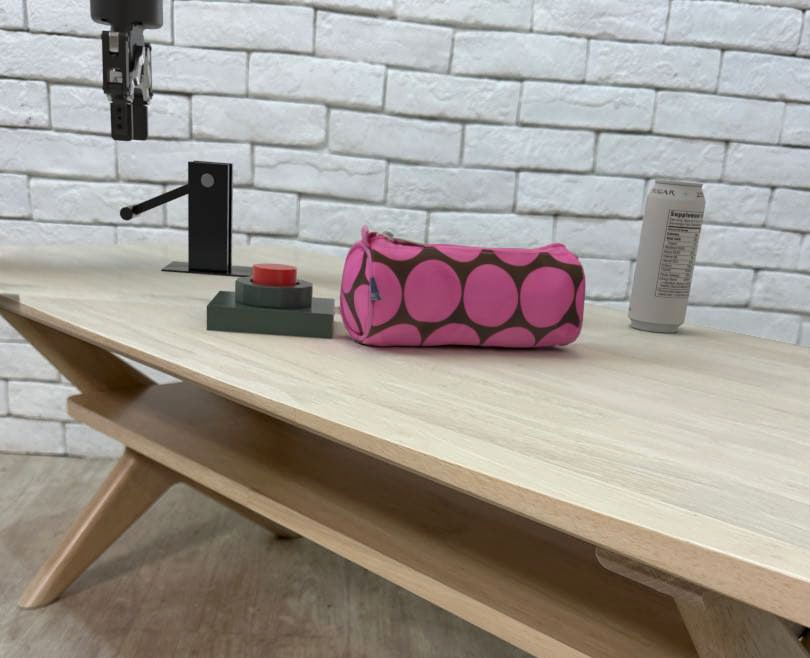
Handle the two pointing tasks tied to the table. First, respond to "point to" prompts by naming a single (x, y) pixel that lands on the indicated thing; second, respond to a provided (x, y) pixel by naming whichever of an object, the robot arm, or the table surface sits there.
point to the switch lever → (152, 203)
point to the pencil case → (460, 294)
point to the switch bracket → (210, 222)
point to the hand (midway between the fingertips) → (130, 140)
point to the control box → (272, 310)
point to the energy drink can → (666, 255)
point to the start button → (274, 274)
